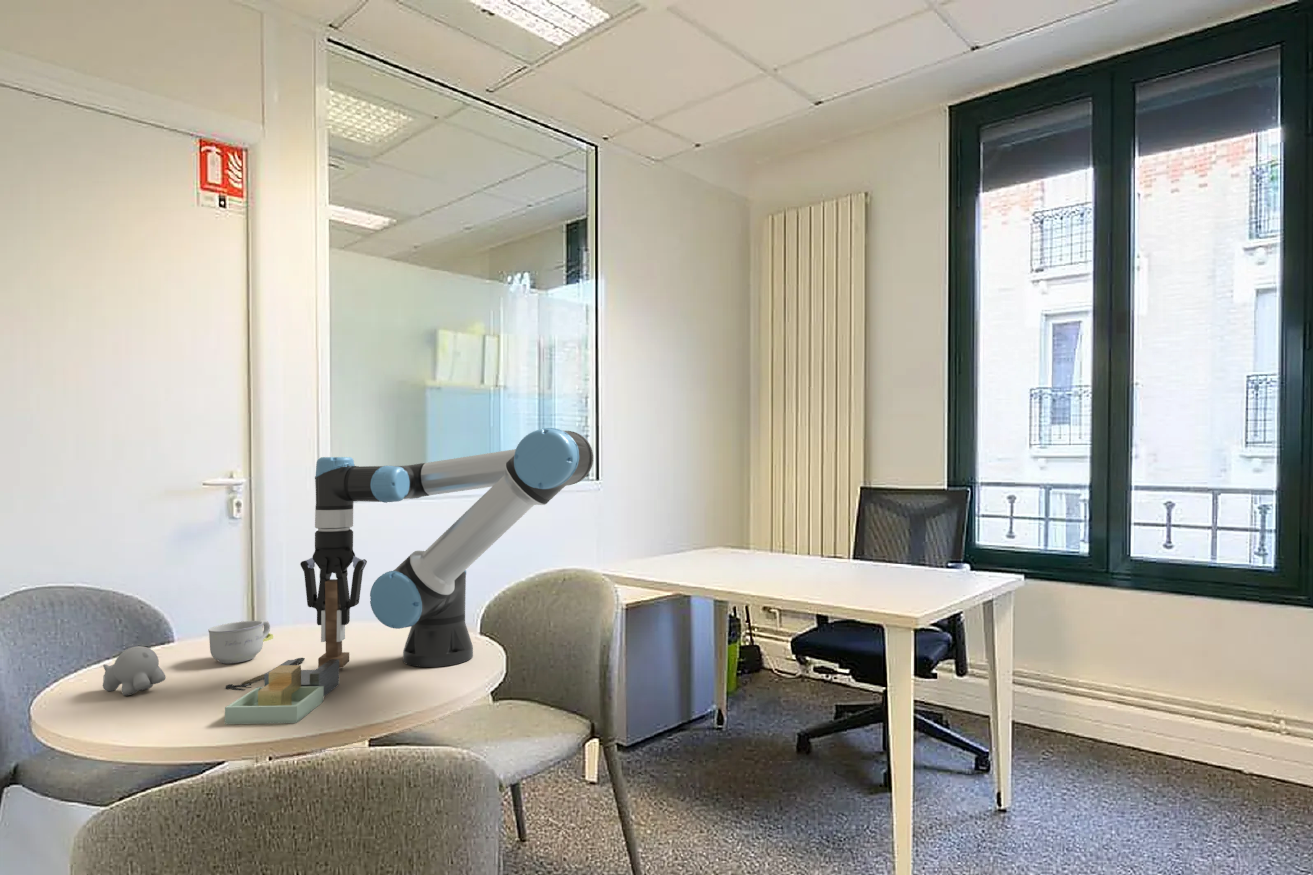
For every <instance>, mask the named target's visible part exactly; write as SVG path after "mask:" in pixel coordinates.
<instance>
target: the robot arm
mask: <svg viewBox="0 0 1313 875" xmlns="http://www.w3.org/2000/svg"><path fill="white" fill-rule="evenodd" d="M593 464H594V451H593V448H592V446H591V444H590V442H589V441H588V440H587V439H586V438H585V437H584V436H582V435H581V434H580V433H578V432H575V431H571V430H562V429H559V428H554V427H553V428H552V427H545V428H541V429H536V430H534V431H532V432H531V431H530V433H528V434H527V435H525V436H524V437H523V438H522V439H521V440H520V442H519V443H518V444H517V445H516V448H514V449H508V450H499V451H495V452H489V453H488V452H487V453H482V454H481V453H480V454H475V455H469V456H463V457H462V456H461V457H456V458H455V457H454V458H449V459H443V460H442V459H441V460H436V461H429V462H424V463H423V462H421V463H416V464H414V463H413V464H409V465H407V464H406V465H372V466H371V465H369V466H366V465H365V466H359V465H358V466H357V465H355V461H354V458H353V457H351V456H323V457H320V458H318V459H317V460H316V464H315V465H316V466H315V476H314V482H315V483H314V484H315V485H314V486H315V507H314V508H315V509H314V510H315V512H314V528H315V529H317V530H316V531H315V532H314V552H313V554H312V557H311V558H308V559H305V560H302V561H301V562H300V564H299V565H300V567H301V569H302V571H303V574H304V583H305V584H304V585H305V593H306V595H305V596H306V602H307V607H309V608H312V609H315V610H316V625H317V626H320V642H321V643H326V625H325V582H326V581H328V580H329V579H331V577H332V575H333V574H335V579H337V581H338V589H339V598H340V606H341V608H339V610H337V642H341V641H342V642H343V641H344V640H345V639H346V625H348V624H349V623H350V614H351V613H350V611H351V608H353V607H356V606H357V605H359V604H360V596H361V590H362V589H361V588H362V581H363V572H364V569H365V567H366V565H367V563H368V561H367V560H366V559H362V558H360V557H357V556H356V553H355V551H354V531H353V530H352V528H353V527H354V502H369V503H370V502H373V503H375V502H376V503H379V502H380V503H383V504H384V503H386V504H387V503H393V502H394V503H395V502H401V501H403V500H407V499H409V500H410V499H411V500H413V499H419V498H423V497H428V496H434V495H442V494H444V495H445V494H449V493H455V492H463V491H471V490H478V489H479V490H480V489H486V488H489V489H488V490H487V491H486V492H485V493H484V494H483V495H482V496H481V497H479V499H478V500H477V501H476V502H474V503H473V505H471V506H470V507H469V508H468V509H467V510H466V511H465V512H464V513H463V514H462V515H461V516H460V517H459V518H458V519H457V520H456V521H454V523H453V524H452V525H451V526H449V528H447V529H446V530H445V531H444V532H443V533H442V534H441V535H440V536H439V537H438V538H437V539H436V540H434V542H433V543H432V544H431V545H430V546H428V548H426V549H425V550H415V551H413V552H412V553H411V554H410V555H409V556H408V557H407V558H405V559H404V561H402V562H401V563H400V564H399V565H398V566H397V567H396V568H395V569H393V570H389V571H386V572H384V573H382V574H381V575H379V577H377V578H376V580H374V582H373V584H372V585H371V588H370V593H369V597H370V601H369V603H370V608H371V610H372V613H373V615H374V616H375V618H376V619H377V620H378V621H379V622H380V623H381V624H382V625H384V626H385V627H388V628H391V629H395V630H397V629H399V630H400V629H406V628H410V630H409V632H408V634H407V638H406V641H405V644H404V648H403V651H402V662H403V663H405V664H406V665H409V666H413V667H419V668H420V667H421V668H422V667H423V668H430V667H431V668H435V667H445V666H446V667H447V666H452V665H457V664H461V663H465V662H467V661H469V660H471V659H472V658H474V657H473V656H474V645H473V641H472V639H471V636H470V633H469V630H468V626H467V623H466V593H467V592H466V589H467V588H466V587H467V586H466V585H467V584H466V582H467V579H466V576H467V569H468V568H469V567H470V566H471V565H472V564H474V563H475V562H476V560H478V559H479V558H480V557H481V556H482V555H483V554H484V553H485V552H486V551H488V549H489V548H490V547H491V546H493V545H494V544H495V543H496V542H497V541H498V540H499V539H500V538H501V537H502V536H503V535H504V534H506V533H507V532H508V530H510V529H511V527H512V526H514V525H515V524H516V523H517V522H519V520H520V519H521V518H522V517H524V515H526V513H527V512H529V511H530V510H531V509H533V507H534V506H545V505H547V504H548V503H549V502H550V501H551V500H552V499H553V498H554V497H555V496H557V495H558V494H559V493H560V492H561V491H562V490H563V489H564V488H565V487H566V486H571V485H574V484H577V483H580V482H581V481H582V480H584V479H586V477H587V476H588V474H590V471H591V470H592V467H593ZM351 564H352V567H353V571H352V580H351V588H349V581H348V574H349V573H348V568H349V567H350V566H351ZM316 566H317V567H318V568H319V569H320V571H319V582H318V583H319V584H318V585H319V586H318V592H317V582H316V574H315V567H316Z"/></svg>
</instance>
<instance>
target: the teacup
mask: <svg viewBox="0 0 1313 875" xmlns="http://www.w3.org/2000/svg"><path fill="white" fill-rule="evenodd" d="M270 631H271V624H270V622H269V621H268V620H267V619H260V620H245V621H244V620H242V621H234V622H229V623H222V624H218V625H215V626H213V627H210V628H209V629H208V631H207V632H208V635H209V637H208V638H209V652H210V656H211V657H212V658H213V659H214V660H216V661H218V662H219V663H220V664H225V665H227V664H237V663H242V662H247V661H250V660H252V659H254V658H256V656H257V655H258V654H259V653H260V652H261V651H262V649H263V646H264V642H263V639H266V638H267V637H266V636H267V635H268V633H270Z"/></svg>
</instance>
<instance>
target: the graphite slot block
mask: <svg viewBox="0 0 1313 875" xmlns="http://www.w3.org/2000/svg"><path fill="white" fill-rule="evenodd" d="M280 665H297V660H295V659H287V660H286V661H284V662H282V663H281V664H280ZM275 668H276V667H273V668H272V669H270V670H269V671H267V672H265V673H266V674H265V673H263V674H264V679H263V681H264V683H263V684H264V686H263V687H265V686H266V685H268V684H269V672H270V671H272V670H273V669H275ZM339 685H340V668H339V659H330V660H329V661H327V662H326V663H325V664H323V665H322V666H320V667H319V668H318V667H317V668H316V669H301V686H324V693H323V698H324V697H326V696H327V695H328V694H329V693H331V692H332V691H333V690H335V689H336V688H337V687H338V686H339Z"/></svg>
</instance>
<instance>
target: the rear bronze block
mask: <svg viewBox="0 0 1313 875" xmlns="http://www.w3.org/2000/svg"><path fill="white" fill-rule="evenodd" d="M274 668H275V669H274ZM274 668H272V669H273V670H272V669H271V670H272V671H271V670H269V671H270V672H269V671H268V672H269V684H274V683H292V694H293V693H294V692H295V691H296V690H298V689H299V688H300V687H301V670H302V664H298V665H281V664H279V665H277V666H276V667H274Z"/></svg>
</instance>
